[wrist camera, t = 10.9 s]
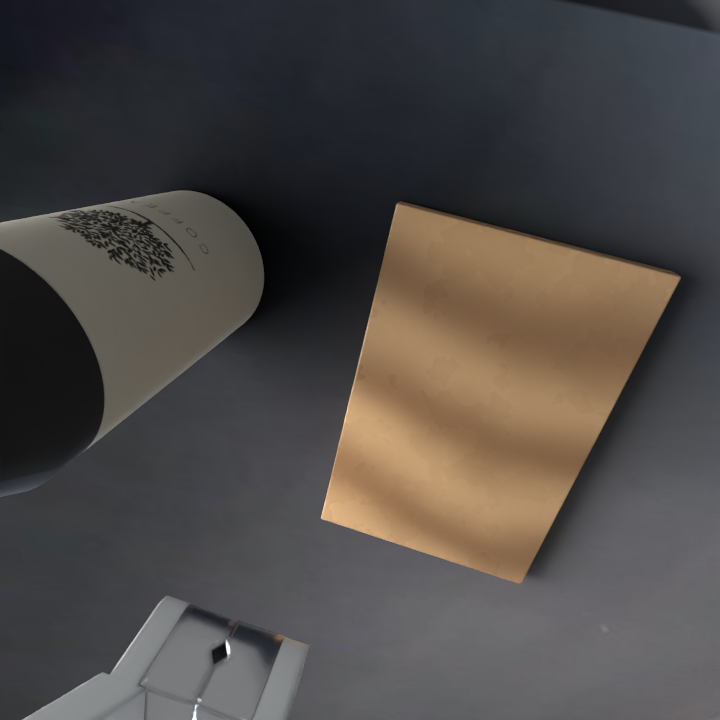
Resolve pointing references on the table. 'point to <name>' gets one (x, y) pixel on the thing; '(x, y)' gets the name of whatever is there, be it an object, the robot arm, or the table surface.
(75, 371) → the travel mug
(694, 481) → the table surface
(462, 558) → the wooden board
